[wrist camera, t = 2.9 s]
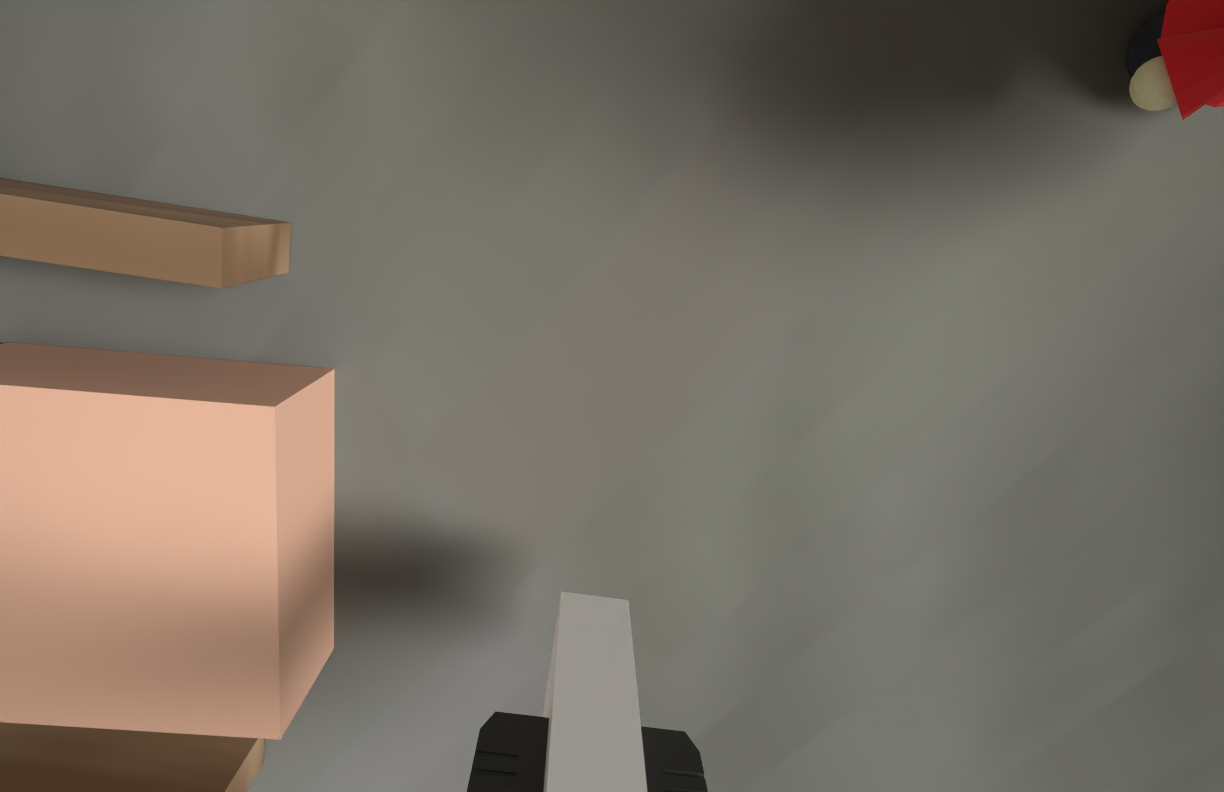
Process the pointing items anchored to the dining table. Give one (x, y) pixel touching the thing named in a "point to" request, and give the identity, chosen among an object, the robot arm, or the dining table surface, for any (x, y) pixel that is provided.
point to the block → (163, 540)
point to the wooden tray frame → (167, 250)
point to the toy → (1179, 58)
